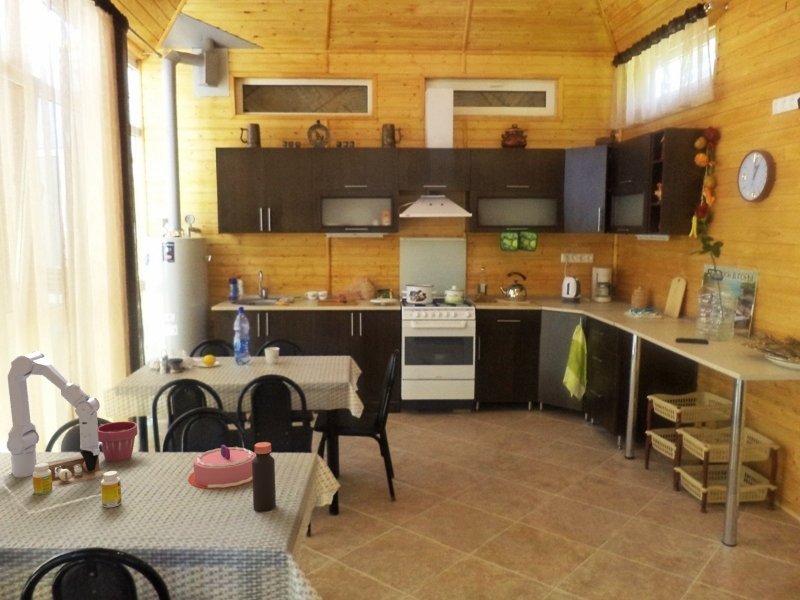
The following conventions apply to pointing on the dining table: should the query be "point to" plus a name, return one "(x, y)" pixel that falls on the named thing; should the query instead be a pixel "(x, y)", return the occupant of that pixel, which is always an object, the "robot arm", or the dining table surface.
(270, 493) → the vinegar
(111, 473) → the supplement bottle
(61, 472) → the knob ivory
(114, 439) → the plant pot
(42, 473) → the supplement bottle
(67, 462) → the mount
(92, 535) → the dining table surface
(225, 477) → the cake
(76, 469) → the pot dial
